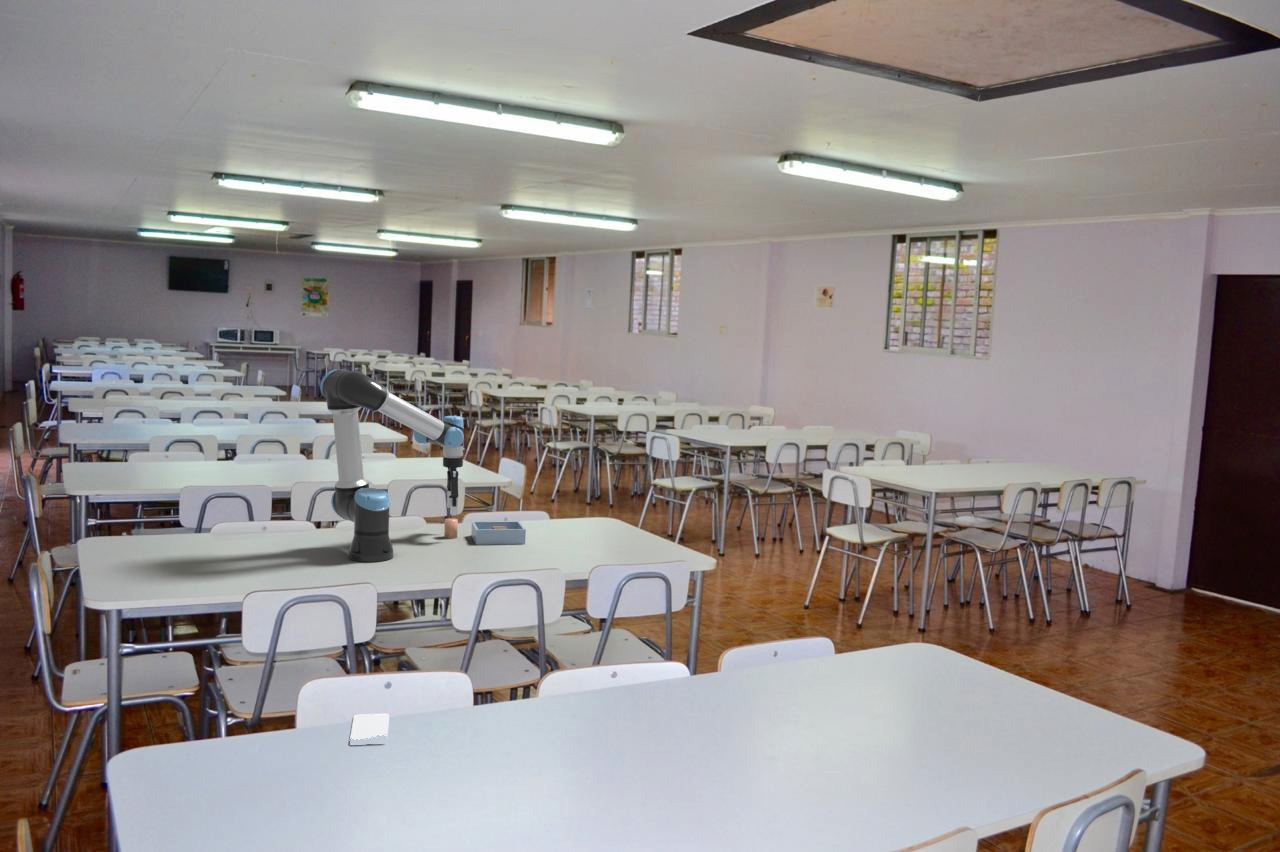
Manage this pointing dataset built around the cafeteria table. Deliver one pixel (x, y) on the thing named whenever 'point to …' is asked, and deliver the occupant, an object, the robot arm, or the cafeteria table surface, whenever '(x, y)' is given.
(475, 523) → the tote
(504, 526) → the cube
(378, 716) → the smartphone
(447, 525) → the cylinder
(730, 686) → the cafeteria table surface
